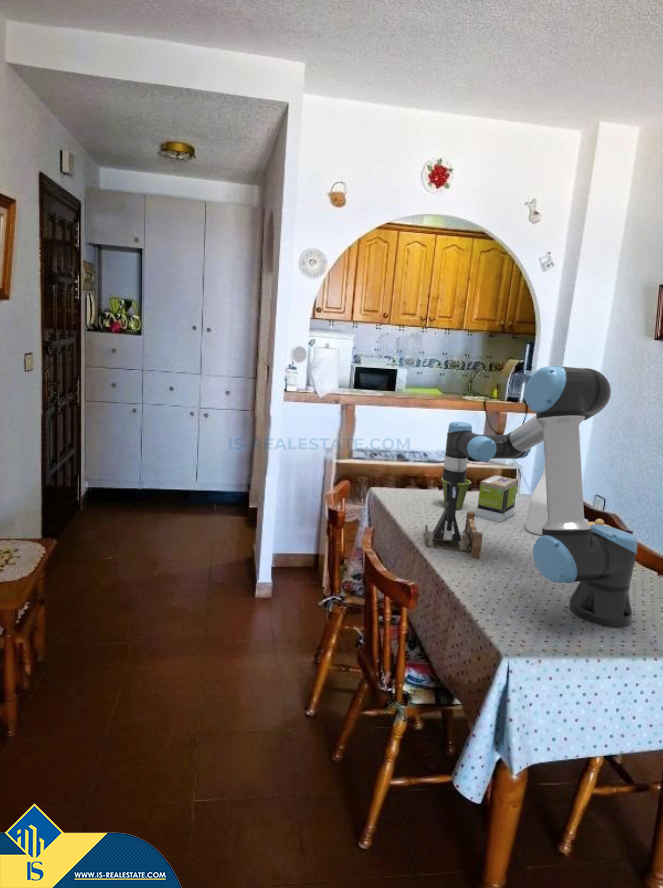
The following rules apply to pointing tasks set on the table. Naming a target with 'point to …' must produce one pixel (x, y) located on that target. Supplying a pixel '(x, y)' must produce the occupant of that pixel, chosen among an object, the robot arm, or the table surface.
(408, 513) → the table surface
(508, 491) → the tea box
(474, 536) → the door pull handle
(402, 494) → the table surface
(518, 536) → the table surface
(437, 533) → the phone stand
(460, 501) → the plant pot
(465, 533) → the keeper plate
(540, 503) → the wine bottle
